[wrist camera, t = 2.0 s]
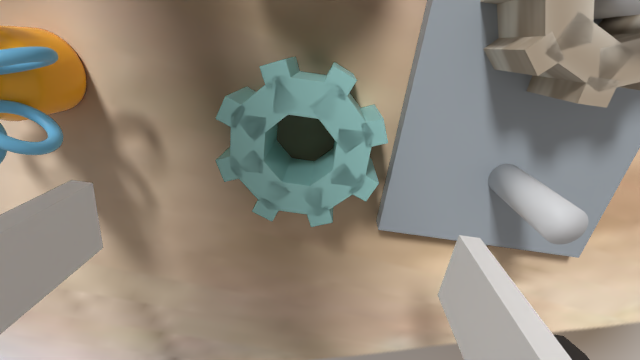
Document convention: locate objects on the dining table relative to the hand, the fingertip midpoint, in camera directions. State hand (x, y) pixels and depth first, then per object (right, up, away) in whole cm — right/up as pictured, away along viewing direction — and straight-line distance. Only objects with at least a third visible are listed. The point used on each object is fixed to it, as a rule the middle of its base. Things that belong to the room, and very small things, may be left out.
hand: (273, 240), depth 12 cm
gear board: (+17, +8, +12) cm, 22 cm away
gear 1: (+1, +6, +13) cm, 15 cm away
